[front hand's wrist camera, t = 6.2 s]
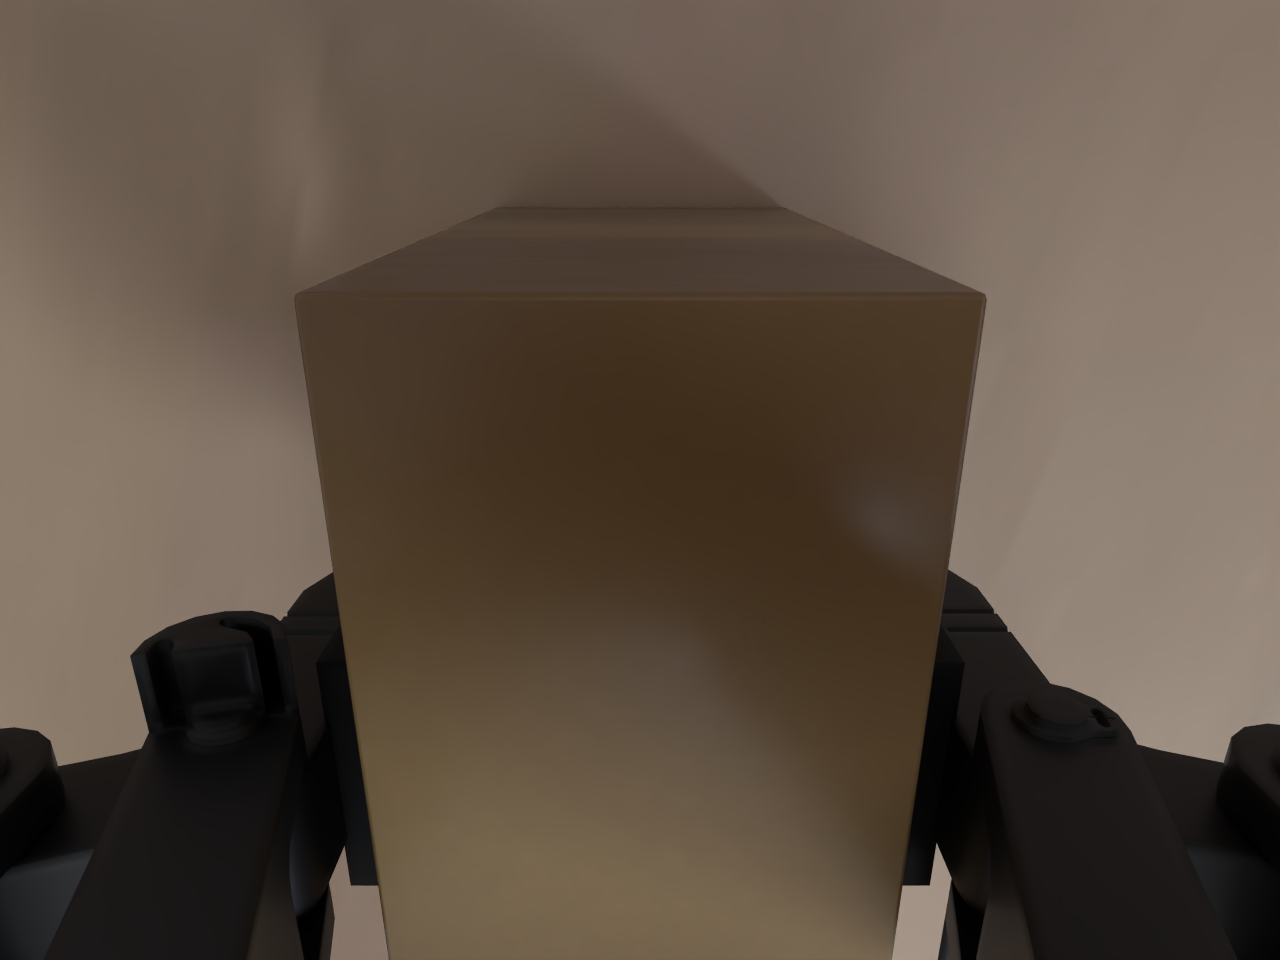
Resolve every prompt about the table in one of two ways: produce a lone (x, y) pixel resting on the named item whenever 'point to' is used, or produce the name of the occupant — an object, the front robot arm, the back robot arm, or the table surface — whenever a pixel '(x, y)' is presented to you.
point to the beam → (640, 575)
